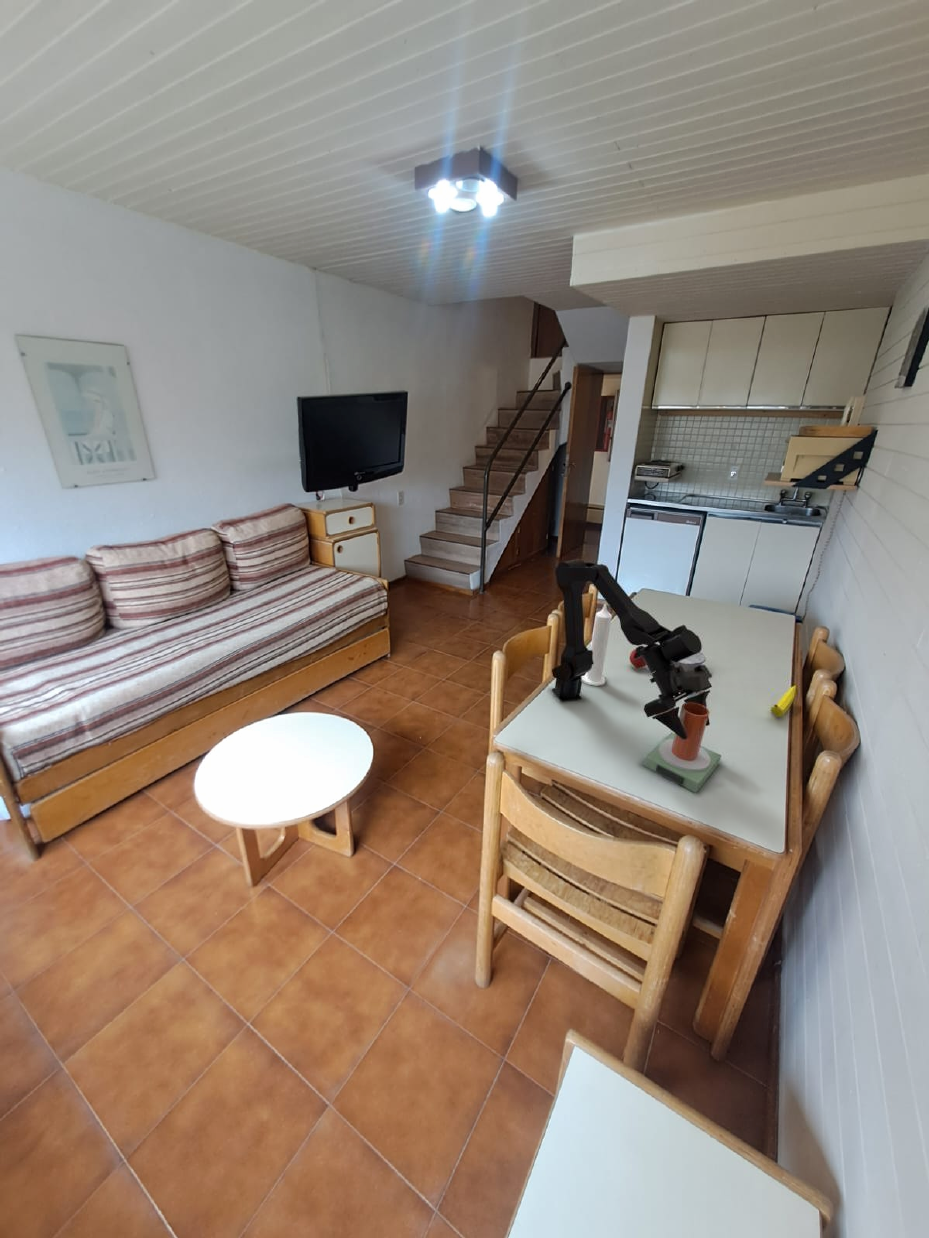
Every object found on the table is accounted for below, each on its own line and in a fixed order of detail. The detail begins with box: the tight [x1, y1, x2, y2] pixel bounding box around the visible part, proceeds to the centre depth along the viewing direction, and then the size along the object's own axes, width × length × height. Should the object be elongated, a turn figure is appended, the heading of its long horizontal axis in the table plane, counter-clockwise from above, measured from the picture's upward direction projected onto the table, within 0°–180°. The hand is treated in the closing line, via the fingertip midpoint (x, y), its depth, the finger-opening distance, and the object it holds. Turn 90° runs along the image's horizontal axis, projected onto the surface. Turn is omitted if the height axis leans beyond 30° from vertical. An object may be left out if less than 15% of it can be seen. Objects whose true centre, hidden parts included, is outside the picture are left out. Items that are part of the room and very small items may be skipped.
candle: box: [581, 603, 613, 687], centre depth 145 cm, size 7×7×25 cm
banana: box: [770, 685, 797, 718], centre depth 136 cm, size 3×19×6 cm, turn 134°
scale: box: [643, 731, 722, 793], centre depth 114 cm, size 14×12×3 cm
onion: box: [629, 648, 647, 670], centre depth 157 cm, size 6×6×8 cm
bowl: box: [671, 651, 707, 672], centre depth 159 cm, size 13×13×5 cm
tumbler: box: [671, 702, 711, 761], centre depth 111 cm, size 6×6×12 cm
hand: (696, 732), depth 110 cm, fingers open, 9 cm apart
